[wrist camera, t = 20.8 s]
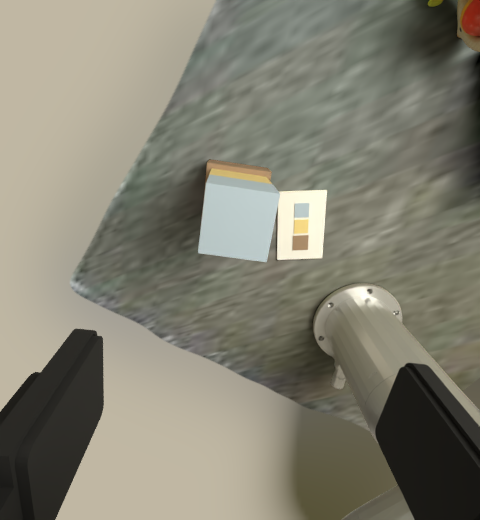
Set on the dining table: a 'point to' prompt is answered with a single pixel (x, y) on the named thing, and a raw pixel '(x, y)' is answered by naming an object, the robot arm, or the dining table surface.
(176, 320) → the dining table surface
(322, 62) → the dining table surface
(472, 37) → the bird rattle
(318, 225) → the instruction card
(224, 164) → the base brick
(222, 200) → the bluegrey brick
